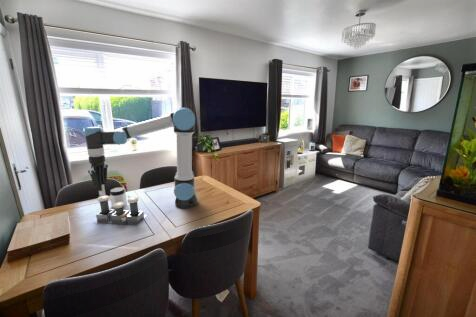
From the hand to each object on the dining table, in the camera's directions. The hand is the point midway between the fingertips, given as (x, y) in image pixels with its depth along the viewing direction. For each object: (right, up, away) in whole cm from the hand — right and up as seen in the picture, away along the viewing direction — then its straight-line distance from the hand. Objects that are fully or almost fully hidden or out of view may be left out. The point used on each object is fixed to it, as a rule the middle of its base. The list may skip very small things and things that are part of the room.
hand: (102, 195), depth 127 cm
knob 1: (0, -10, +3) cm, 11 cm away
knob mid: (+9, -14, +3) cm, 17 cm away
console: (+9, -15, +3) cm, 18 cm away
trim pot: (+13, -15, -1) cm, 20 cm away
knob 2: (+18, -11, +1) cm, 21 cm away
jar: (-1, -11, +21) cm, 24 cm away
